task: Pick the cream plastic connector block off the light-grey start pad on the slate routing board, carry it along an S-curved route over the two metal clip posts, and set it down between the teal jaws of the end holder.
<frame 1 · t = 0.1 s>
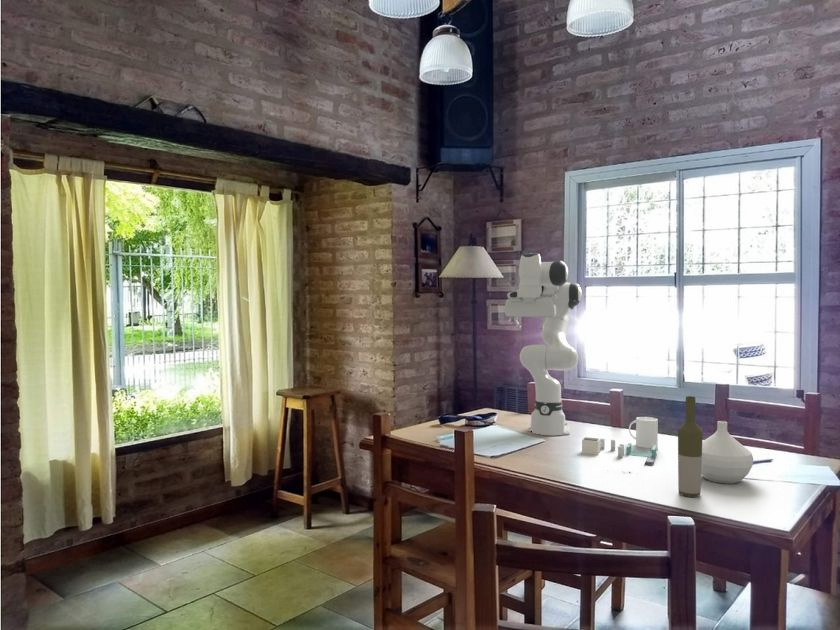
hand: (530, 328, 246), 48 cm above the table, fingers open, 8 cm apart
connector: (590, 452, 235), point 1 cm above the table, touching routing board
vase: (721, 479, 205), on the table
end holder: (641, 457, 233), resting on routing board
bottle: (689, 495, 189), on the table
routing board: (618, 456, 234), on the table
mug: (642, 448, 247), on the table
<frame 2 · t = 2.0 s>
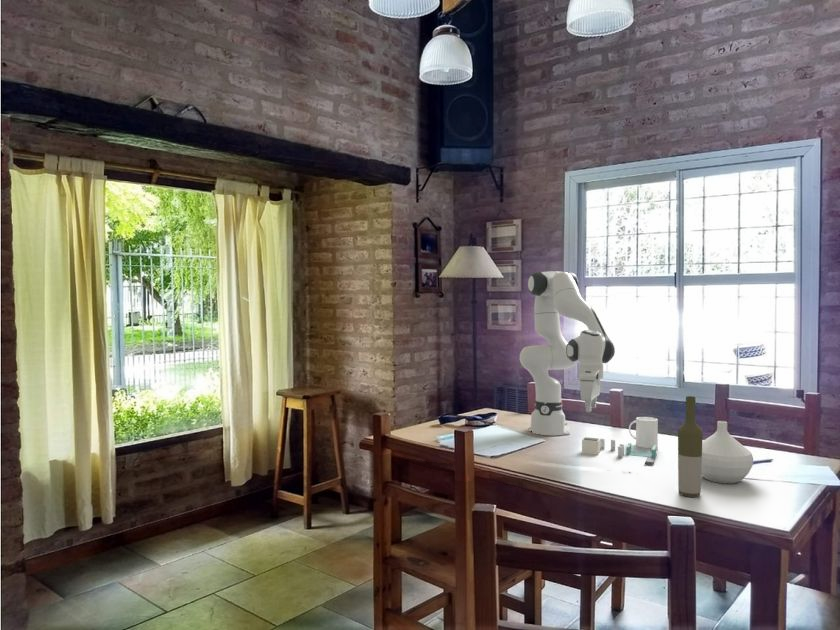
hand: (590, 409, 234), 18 cm above the table, fingers open, 8 cm apart
nothing on the table moved.
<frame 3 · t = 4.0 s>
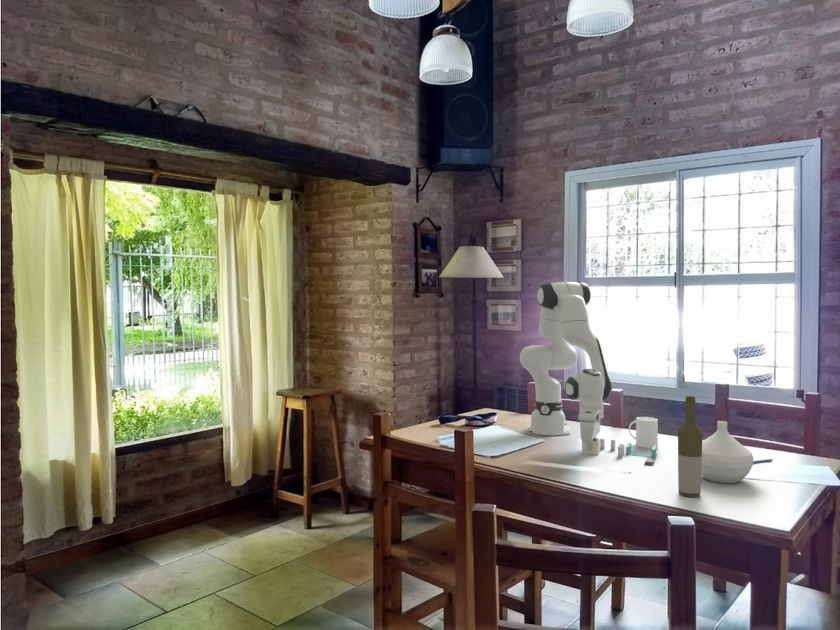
hand: (590, 448, 235), 3 cm above the table, fingers closed on connector, 4 cm apart
connector: (590, 452, 235), point 1 cm above the table, touching gripper, routing board
everything else where it was.
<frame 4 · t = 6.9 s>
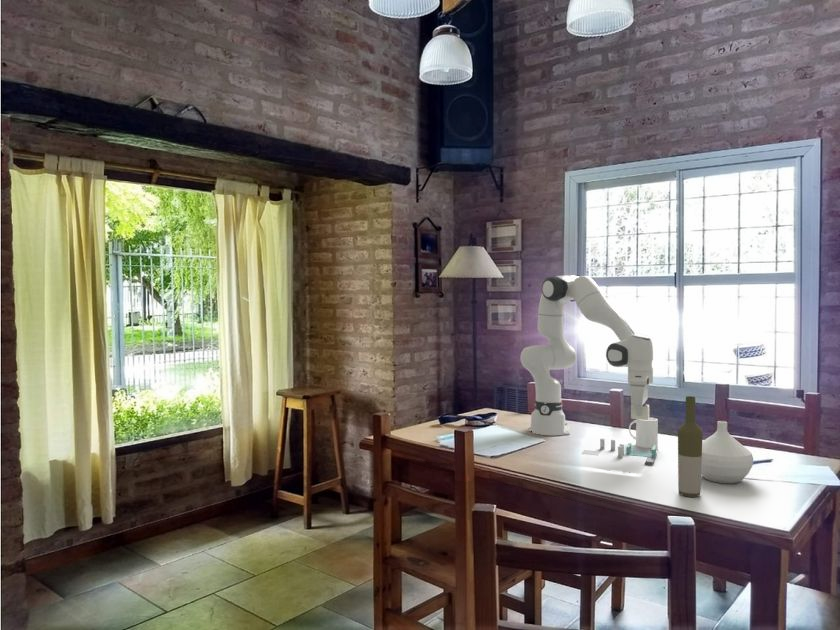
hand: (639, 414, 232), 16 cm above the table, fingers closed on connector, 4 cm apart
connector: (640, 418, 232), point 15 cm above the table, touching gripper
everything else where it was.
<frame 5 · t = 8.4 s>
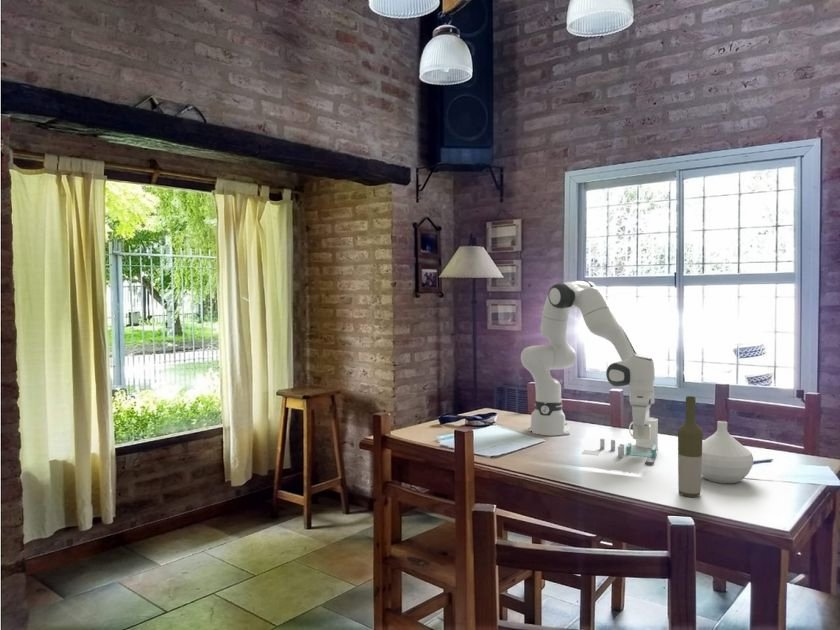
hand: (641, 434, 232), 9 cm above the table, fingers closed on connector, 4 cm apart
connector: (641, 438, 232), point 7 cm above the table, touching gripper
everything else where it was.
when the fingers open (4 cm above the table, at t = 9.6 s): connector drops 1 cm, resting on end holder.
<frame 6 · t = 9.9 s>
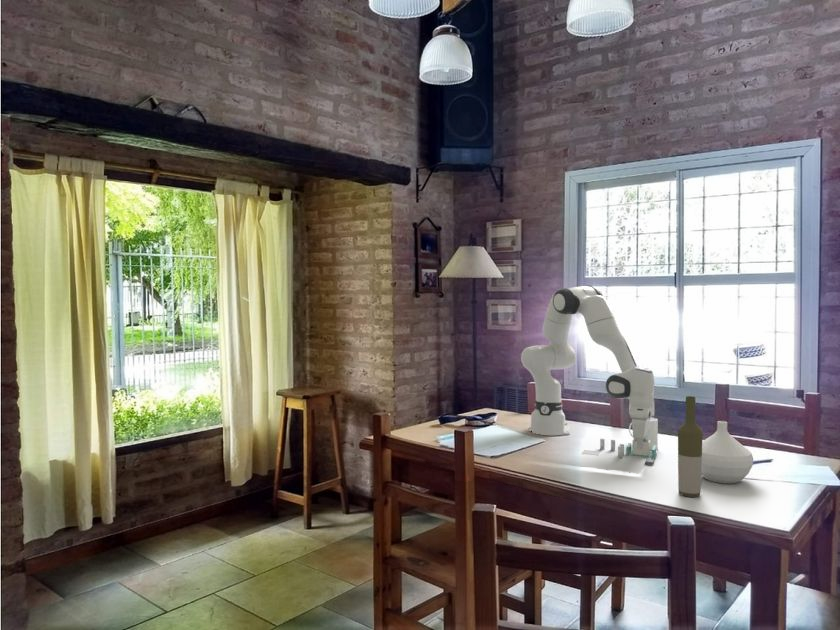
hand: (641, 446, 233), 4 cm above the table, fingers open, 7 cm apart
connector: (641, 453, 233), point 1 cm above the table, touching end holder
everything else where it was.
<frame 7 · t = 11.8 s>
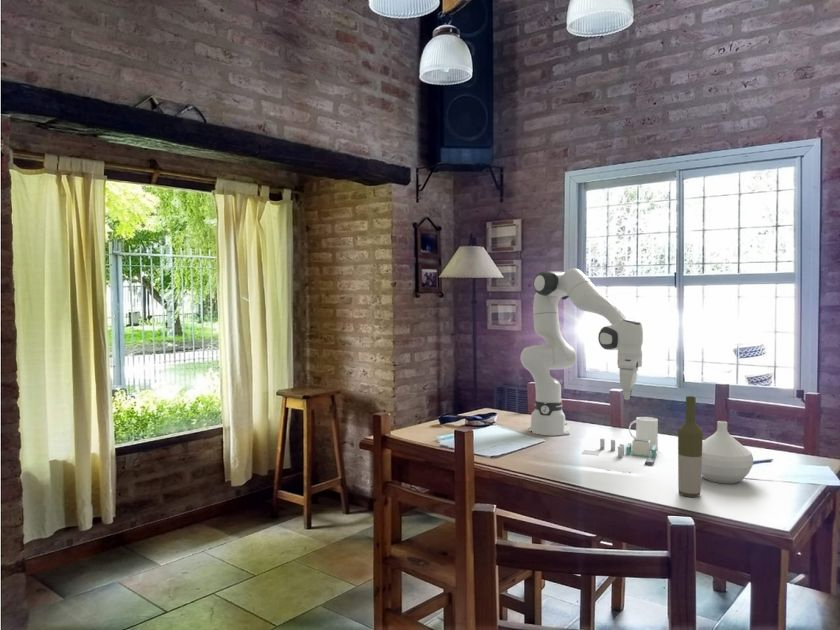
hand: (628, 397, 236), 22 cm above the table, fingers open, 8 cm apart
nothing on the table moved.
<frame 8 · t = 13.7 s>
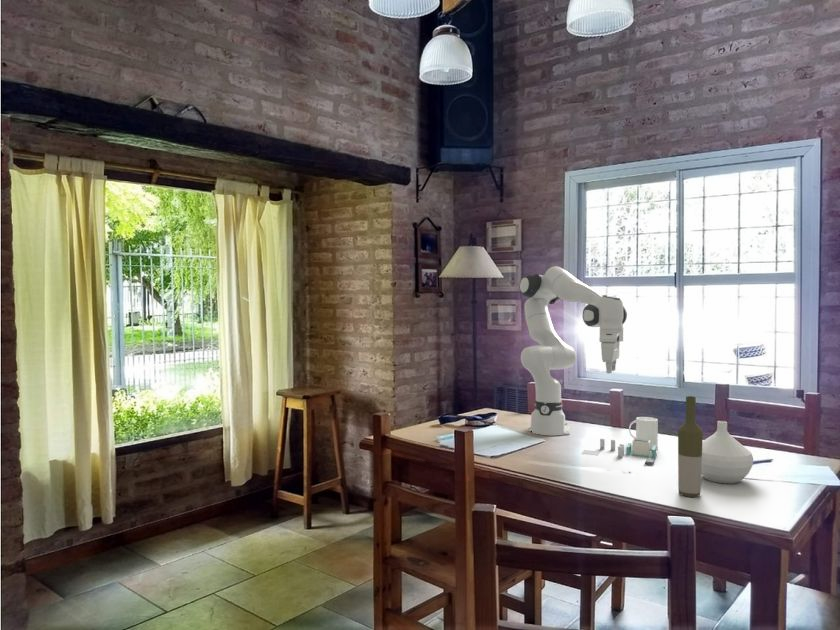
hand: (611, 371, 241), 31 cm above the table, fingers open, 8 cm apart
nothing on the table moved.
at the end: connector 0.0 cm off-centre on the end holder, point 1.4 cm above the end holder's base; connector tilted 0°; the gripper is holding nothing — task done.
